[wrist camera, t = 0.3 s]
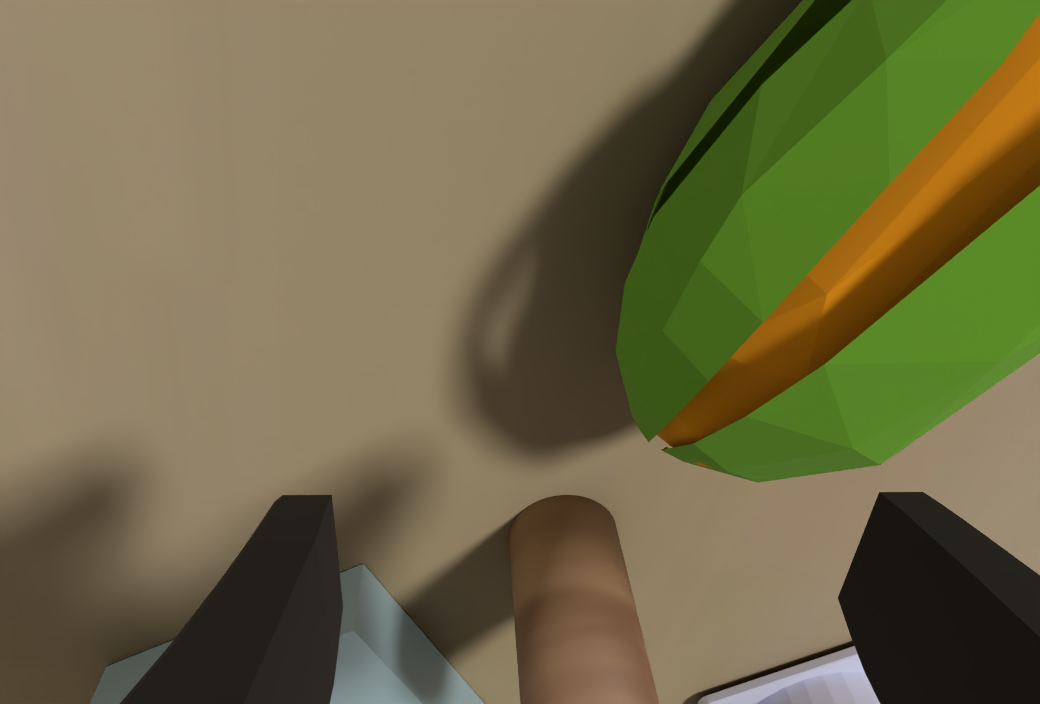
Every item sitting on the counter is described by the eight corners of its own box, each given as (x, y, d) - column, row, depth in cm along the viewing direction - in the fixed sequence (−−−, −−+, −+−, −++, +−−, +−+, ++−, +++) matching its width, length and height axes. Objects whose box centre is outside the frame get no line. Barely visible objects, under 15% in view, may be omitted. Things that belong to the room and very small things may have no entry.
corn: (551, 496, 12) (2530, -1510, 5) (503, 277, 19) (1317, -738, 11) (829, 627, 16) (2290, -447, 8) (708, 402, 22) (1453, -319, 14)
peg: (632, 550, 24) (687, 766, 18) (535, 586, 25) (559, 807, 19) (591, 479, 22) (639, 693, 17) (490, 520, 23) (500, 740, 17)
